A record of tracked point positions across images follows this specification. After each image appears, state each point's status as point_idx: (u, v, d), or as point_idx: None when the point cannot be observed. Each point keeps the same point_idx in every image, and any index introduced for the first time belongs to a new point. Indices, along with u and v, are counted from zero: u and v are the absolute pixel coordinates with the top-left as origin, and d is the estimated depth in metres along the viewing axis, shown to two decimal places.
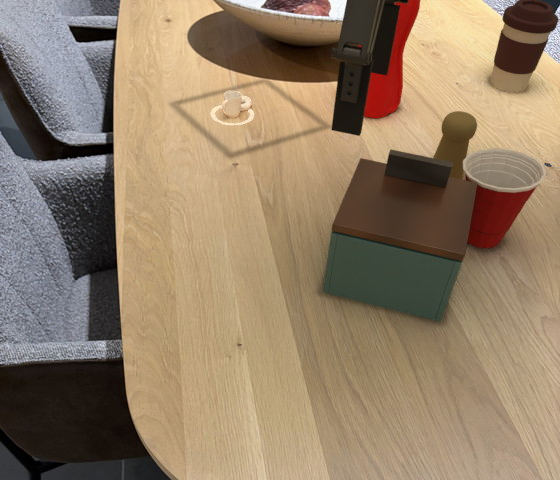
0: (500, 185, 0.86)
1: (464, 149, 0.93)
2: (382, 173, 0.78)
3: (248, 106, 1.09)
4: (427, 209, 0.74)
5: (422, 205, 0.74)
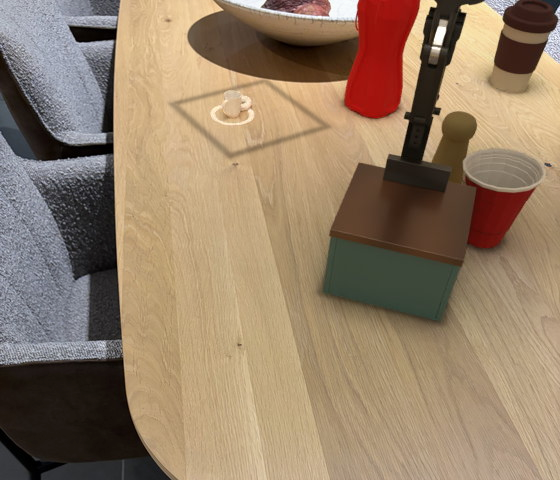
0: (500, 185, 0.86)
1: (464, 149, 0.93)
2: (380, 177, 0.78)
3: (248, 106, 1.09)
4: (426, 214, 0.73)
5: (421, 210, 0.73)
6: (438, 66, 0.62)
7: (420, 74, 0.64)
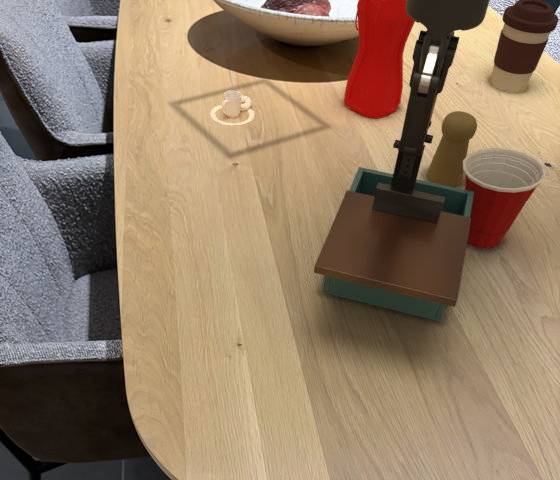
0: (500, 185, 0.86)
1: (464, 149, 0.93)
2: (369, 207, 0.73)
3: (248, 106, 1.09)
4: (417, 248, 0.69)
5: (412, 243, 0.69)
6: (429, 95, 0.58)
7: (409, 103, 0.59)
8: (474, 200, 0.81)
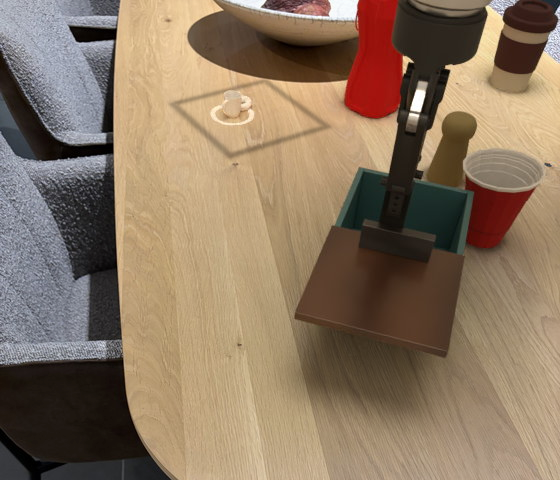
0: (500, 185, 0.86)
1: (464, 149, 0.93)
2: (356, 244, 0.68)
3: (248, 106, 1.09)
4: (406, 291, 0.64)
5: (401, 286, 0.64)
6: (417, 134, 0.53)
7: (396, 142, 0.55)
8: (474, 200, 0.81)
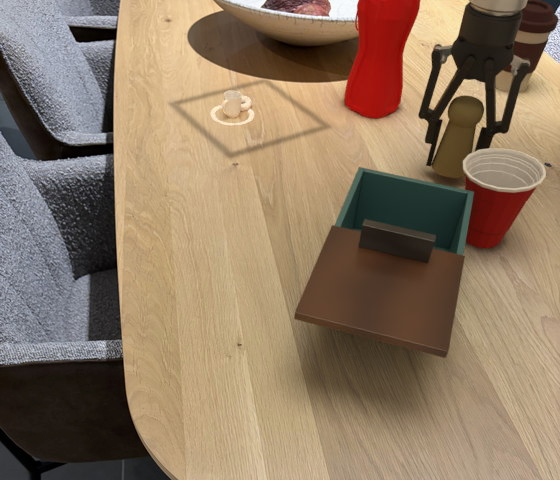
0: (500, 185, 0.86)
1: (471, 134, 0.91)
2: (356, 244, 0.68)
3: (248, 106, 1.09)
4: (406, 291, 0.64)
5: (401, 286, 0.64)
6: (432, 63, 0.86)
7: None
8: (474, 200, 0.81)
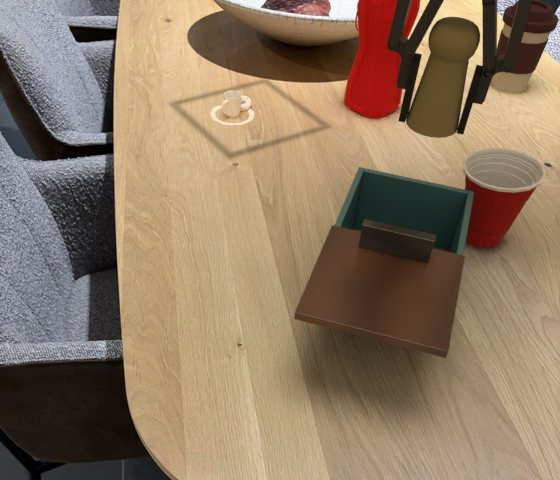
0: (500, 185, 0.86)
1: (461, 73, 0.64)
2: (356, 244, 0.68)
3: (248, 106, 1.09)
4: (406, 291, 0.64)
5: (401, 286, 0.64)
6: None
7: None
8: (474, 200, 0.81)
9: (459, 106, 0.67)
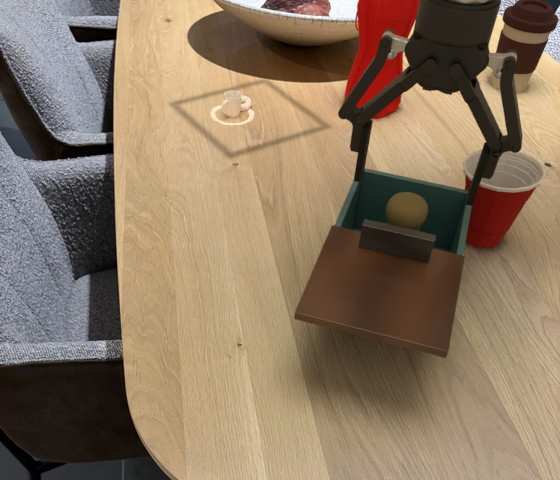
0: (500, 185, 0.86)
1: None
2: (356, 244, 0.68)
3: (248, 106, 1.09)
4: (406, 291, 0.64)
5: (401, 286, 0.64)
6: None
7: (373, 58, 0.64)
8: (474, 200, 0.81)
9: None
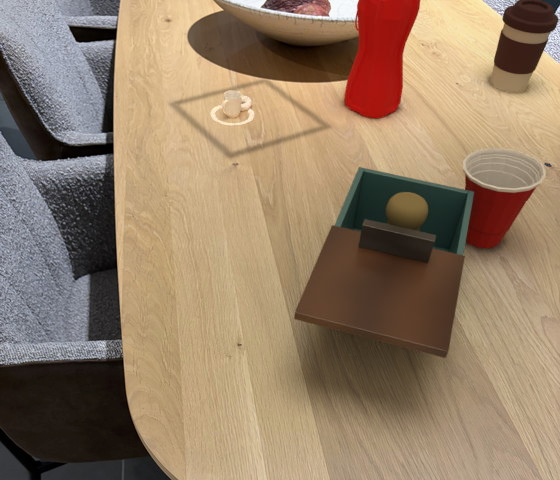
0: (500, 185, 0.86)
1: None
2: (356, 244, 0.68)
3: (248, 106, 1.09)
4: (406, 291, 0.64)
5: (401, 286, 0.64)
6: None
7: None
8: (474, 200, 0.81)
9: None
